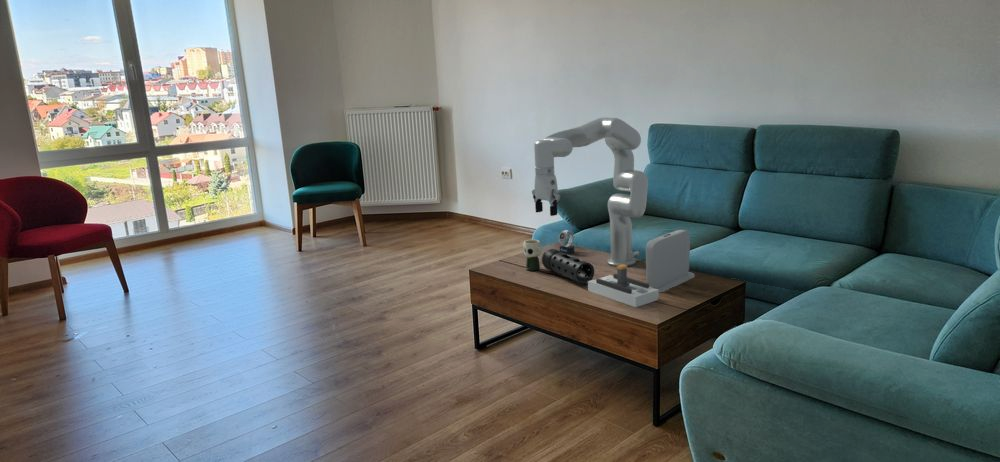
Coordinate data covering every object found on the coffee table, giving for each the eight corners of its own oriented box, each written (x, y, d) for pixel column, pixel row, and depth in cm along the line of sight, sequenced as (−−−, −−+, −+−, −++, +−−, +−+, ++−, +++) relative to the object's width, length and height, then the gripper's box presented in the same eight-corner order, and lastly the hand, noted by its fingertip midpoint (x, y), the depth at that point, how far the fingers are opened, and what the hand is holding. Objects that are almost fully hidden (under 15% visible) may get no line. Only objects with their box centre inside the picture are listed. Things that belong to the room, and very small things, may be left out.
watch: (557, 253, 321) (556, 231, 318) (568, 250, 325) (568, 228, 323) (565, 255, 316) (564, 233, 314) (577, 251, 321) (576, 229, 319)
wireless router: (677, 271, 283) (678, 225, 278) (699, 275, 276) (699, 228, 271) (636, 289, 262) (635, 240, 257) (658, 294, 255) (658, 244, 250)
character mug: (518, 269, 298) (517, 241, 295) (530, 265, 303) (528, 238, 300) (536, 273, 290) (534, 244, 287) (547, 269, 295) (546, 241, 292)
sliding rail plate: (615, 277, 266) (615, 273, 265) (649, 287, 251) (649, 283, 251) (596, 283, 260) (596, 279, 260) (629, 293, 245) (629, 289, 245)
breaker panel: (610, 284, 270) (610, 274, 269) (658, 299, 249) (658, 289, 248) (588, 290, 264) (587, 280, 263) (635, 307, 243) (635, 296, 242)
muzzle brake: (576, 288, 268) (575, 264, 265) (540, 272, 292) (539, 249, 289) (595, 284, 272) (594, 260, 269) (558, 268, 296) (558, 246, 294)
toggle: (622, 282, 258) (622, 263, 256) (629, 284, 255) (629, 265, 253) (614, 284, 256) (614, 265, 254) (622, 286, 253) (621, 267, 251)
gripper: (565, 172, 257) (567, 215, 261) (539, 168, 271) (541, 209, 275) (550, 174, 253) (552, 218, 257) (524, 170, 267) (526, 212, 271)
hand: (546, 213), depth 266 cm, fingers open, 9 cm apart
